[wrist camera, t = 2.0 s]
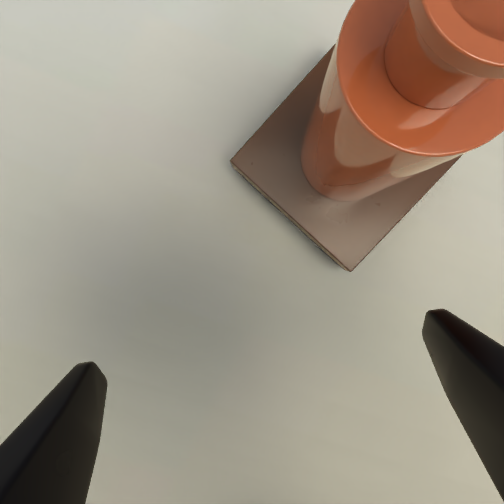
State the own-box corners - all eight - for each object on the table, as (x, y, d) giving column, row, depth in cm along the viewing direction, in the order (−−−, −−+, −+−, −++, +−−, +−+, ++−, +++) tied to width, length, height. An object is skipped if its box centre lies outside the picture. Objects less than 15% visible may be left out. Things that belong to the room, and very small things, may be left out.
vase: (414, 151, 19) (747, -54, 6) (349, 221, 20) (524, 176, 6) (345, 87, 20) (517, -256, 6) (280, 158, 20) (308, -20, 6)
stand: (446, 159, 22) (469, 148, 19) (341, 269, 22) (350, 272, 20) (334, 57, 22) (343, 34, 19) (233, 169, 22) (229, 160, 20)
